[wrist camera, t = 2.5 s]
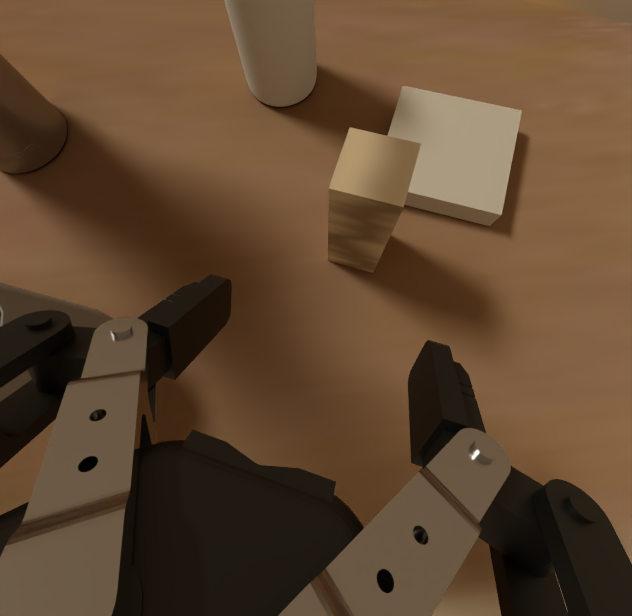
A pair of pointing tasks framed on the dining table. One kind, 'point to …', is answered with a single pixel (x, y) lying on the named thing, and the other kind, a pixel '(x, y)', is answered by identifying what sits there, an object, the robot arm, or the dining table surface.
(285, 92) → the pill bottle
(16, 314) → the cup
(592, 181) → the dining table surface
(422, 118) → the block
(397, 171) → the maple block
